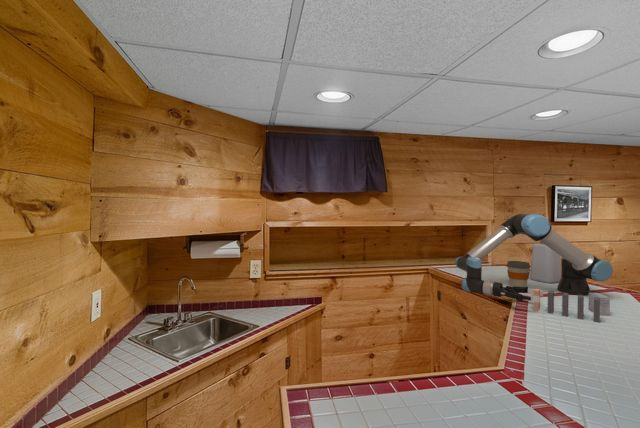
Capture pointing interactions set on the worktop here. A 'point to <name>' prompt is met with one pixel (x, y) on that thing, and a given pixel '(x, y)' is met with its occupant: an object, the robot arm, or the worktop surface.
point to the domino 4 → (596, 309)
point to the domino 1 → (550, 302)
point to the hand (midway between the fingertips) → (541, 296)
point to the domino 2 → (565, 304)
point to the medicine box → (603, 303)
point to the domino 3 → (580, 307)
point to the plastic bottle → (545, 264)
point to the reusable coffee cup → (518, 273)
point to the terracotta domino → (537, 304)
